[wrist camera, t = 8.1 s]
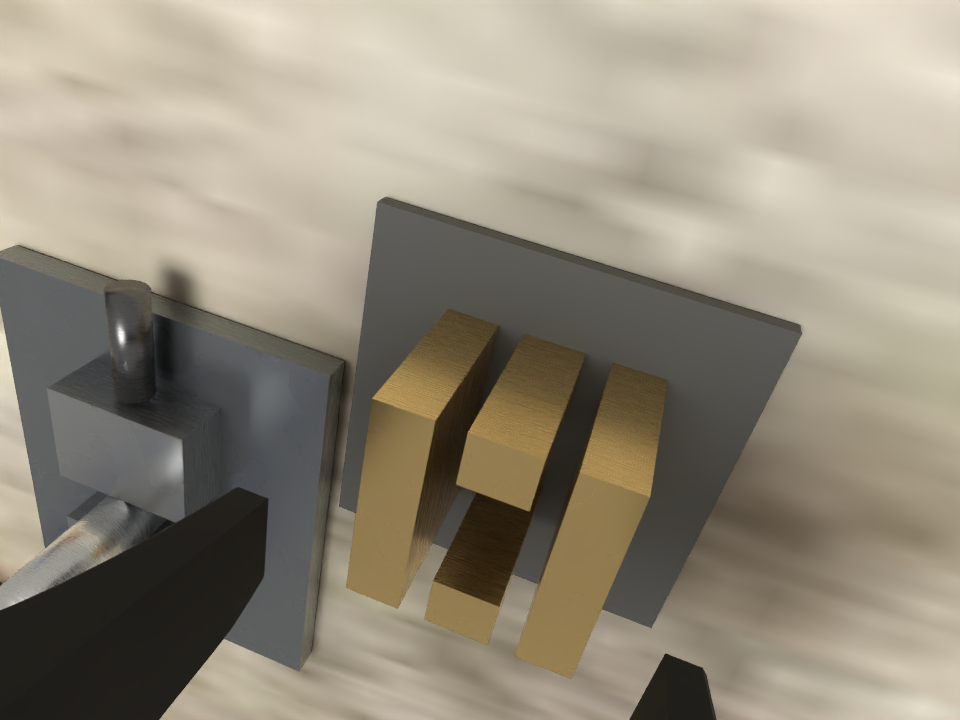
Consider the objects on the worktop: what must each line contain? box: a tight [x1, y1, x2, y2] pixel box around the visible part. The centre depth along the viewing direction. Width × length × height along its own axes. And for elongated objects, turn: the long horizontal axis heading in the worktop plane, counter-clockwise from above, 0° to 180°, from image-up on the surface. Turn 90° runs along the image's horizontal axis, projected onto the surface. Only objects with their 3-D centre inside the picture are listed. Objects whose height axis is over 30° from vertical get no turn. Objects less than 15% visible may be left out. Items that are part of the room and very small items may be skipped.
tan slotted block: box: [346, 309, 668, 679], centre depth 15 cm, size 5×5×4 cm
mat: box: [339, 197, 802, 628], centre depth 17 cm, size 9×9×1 cm
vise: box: [0, 245, 345, 671], centre depth 19 cm, size 13×10×6 cm
